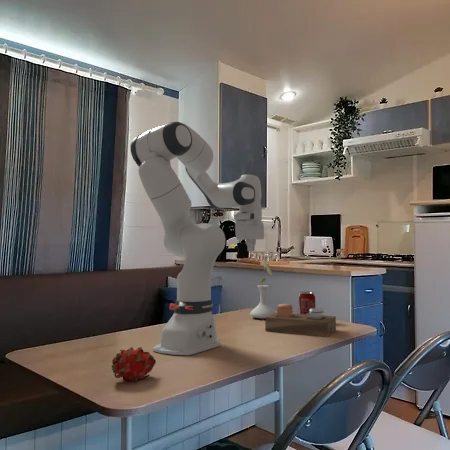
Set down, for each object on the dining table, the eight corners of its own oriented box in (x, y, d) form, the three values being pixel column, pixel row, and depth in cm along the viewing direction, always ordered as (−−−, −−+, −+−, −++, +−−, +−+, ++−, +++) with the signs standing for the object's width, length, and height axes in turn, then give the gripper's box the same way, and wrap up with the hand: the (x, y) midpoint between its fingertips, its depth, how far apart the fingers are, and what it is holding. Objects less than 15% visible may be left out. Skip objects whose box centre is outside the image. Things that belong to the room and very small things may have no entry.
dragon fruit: (106, 390, 105) (151, 387, 112) (121, 375, 100) (167, 373, 107) (102, 356, 110) (145, 355, 117) (116, 340, 105) (160, 340, 112)
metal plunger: (321, 330, 158) (321, 310, 158) (307, 329, 160) (307, 309, 160) (325, 327, 162) (325, 308, 162) (311, 326, 165) (311, 307, 165)
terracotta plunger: (289, 325, 163) (289, 306, 163) (276, 324, 166) (275, 305, 166) (294, 322, 168) (293, 304, 168) (281, 321, 170) (280, 303, 170)
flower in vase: (274, 320, 184) (273, 260, 185) (247, 319, 187) (247, 260, 188) (278, 315, 197) (277, 259, 198) (253, 314, 200) (252, 259, 201)
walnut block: (327, 336, 153) (327, 321, 153) (265, 331, 164) (265, 317, 164) (335, 330, 164) (335, 316, 164) (277, 325, 174) (276, 312, 175)
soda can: (317, 323, 178) (316, 293, 178) (300, 323, 178) (299, 293, 178) (314, 320, 184) (313, 291, 185) (297, 320, 185) (297, 291, 185)
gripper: (253, 217, 186) (254, 250, 186) (232, 215, 168) (232, 252, 167) (267, 216, 183) (268, 250, 183) (247, 214, 165) (247, 252, 165)
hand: (251, 251), depth 175 cm, fingers closed
